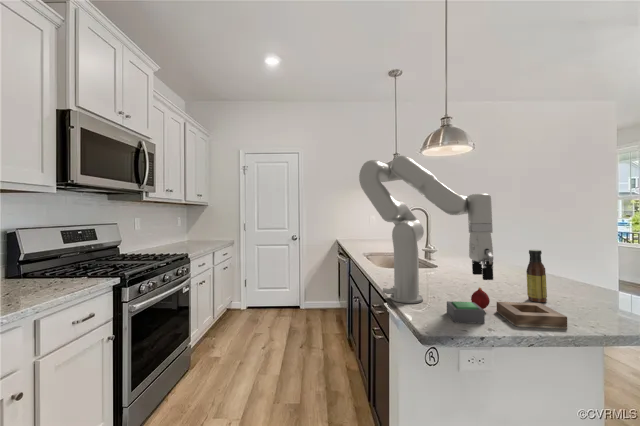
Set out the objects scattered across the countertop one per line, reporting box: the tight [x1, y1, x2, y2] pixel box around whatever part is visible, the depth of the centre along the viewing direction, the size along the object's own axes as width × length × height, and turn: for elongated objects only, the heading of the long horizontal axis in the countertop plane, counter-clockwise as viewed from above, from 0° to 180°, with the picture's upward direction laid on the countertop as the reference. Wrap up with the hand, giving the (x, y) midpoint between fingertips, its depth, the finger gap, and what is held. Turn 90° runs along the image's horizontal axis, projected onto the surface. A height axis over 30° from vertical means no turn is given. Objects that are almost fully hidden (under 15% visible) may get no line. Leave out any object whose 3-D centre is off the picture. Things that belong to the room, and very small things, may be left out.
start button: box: [451, 300, 478, 309], centre depth 100 cm, size 6×6×3 cm
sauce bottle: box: [526, 249, 548, 303], centre depth 119 cm, size 6×6×20 cm
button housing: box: [446, 300, 486, 324], centre depth 100 cm, size 9×9×4 cm
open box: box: [496, 301, 568, 330], centre depth 99 cm, size 14×14×4 cm
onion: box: [470, 287, 491, 310], centre depth 108 cm, size 6×6×8 cm
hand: (482, 277), depth 108 cm, fingers open, 9 cm apart
